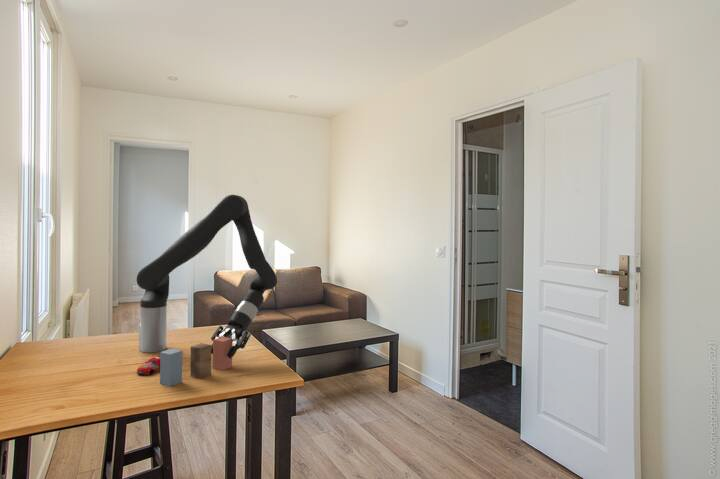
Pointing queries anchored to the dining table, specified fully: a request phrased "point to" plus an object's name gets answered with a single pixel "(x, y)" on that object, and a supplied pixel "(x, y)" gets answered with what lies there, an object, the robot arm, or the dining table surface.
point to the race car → (150, 366)
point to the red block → (221, 353)
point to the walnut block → (200, 361)
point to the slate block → (170, 367)
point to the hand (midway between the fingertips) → (219, 355)
